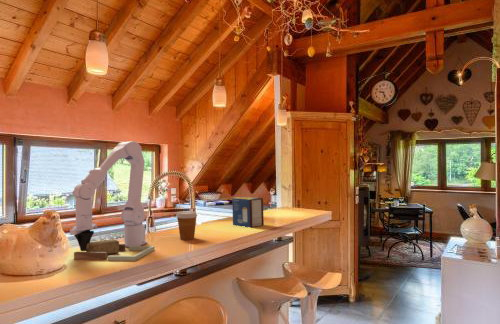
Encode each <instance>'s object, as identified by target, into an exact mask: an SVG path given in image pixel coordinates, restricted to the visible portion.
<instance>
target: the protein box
mask: <svg viewBox="0 0 500 324" xmlns="http://www.w3.org/2000/svg"><path fill="white" fill-rule="evenodd" d="M231 198H232V199H231V201H232V225H233V226H237V225H238V227H242V226H245V227H244V228H248V227H251V228H256V227H255V226H257V227H262V226H261V225H265V223H264V219H265V217H264V198H263V197H255V196H239V197H231Z"/></svg>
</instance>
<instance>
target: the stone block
mask: <svg viewBox="0 0 500 324" xmlns="http://www.w3.org/2000/svg"><path fill="white" fill-rule="evenodd" d="M119 244H120V241H119V240H117V239H109V240H108V239H107V240H106V239H105V240H99V241H92V242H91V241H90V243H87V248H86V250H87V251H85V252H107V255H113V254H114V255H115V254H117V253H119V252H120V251H119Z"/></svg>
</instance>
